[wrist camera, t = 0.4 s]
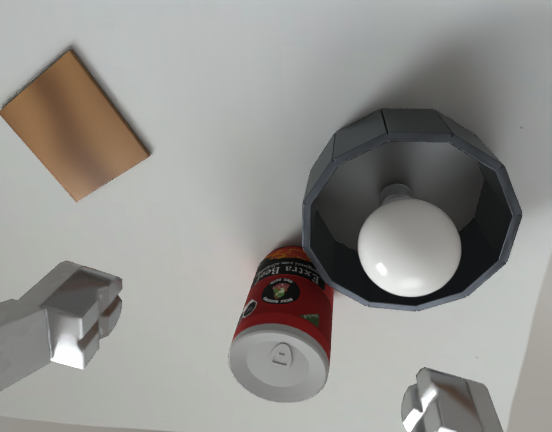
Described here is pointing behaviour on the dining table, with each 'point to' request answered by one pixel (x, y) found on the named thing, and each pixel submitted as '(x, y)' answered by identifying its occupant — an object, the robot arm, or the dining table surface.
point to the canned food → (284, 330)
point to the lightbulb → (408, 244)
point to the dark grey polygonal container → (474, 237)
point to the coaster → (74, 128)
